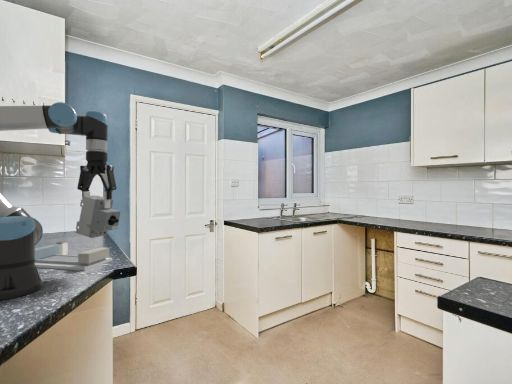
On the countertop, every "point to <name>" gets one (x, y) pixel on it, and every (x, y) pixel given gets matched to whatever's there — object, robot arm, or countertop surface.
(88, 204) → the circuit breaker
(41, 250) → the rail board
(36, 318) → the countertop surface
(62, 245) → the relay block
